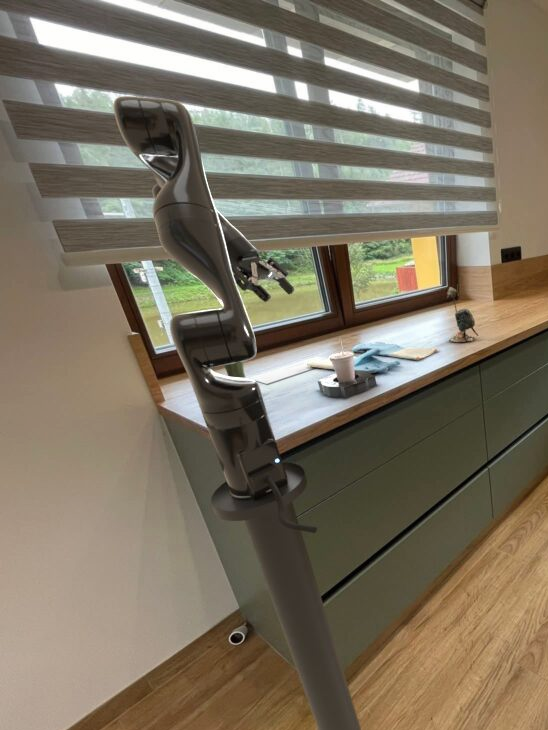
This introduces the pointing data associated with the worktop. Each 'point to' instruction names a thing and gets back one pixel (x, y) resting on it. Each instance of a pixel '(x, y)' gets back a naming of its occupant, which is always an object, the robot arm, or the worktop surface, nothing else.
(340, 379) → the smoothie
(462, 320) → the ostrich figurine
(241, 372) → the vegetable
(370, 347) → the rubber gloves
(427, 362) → the worktop surface
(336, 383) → the board
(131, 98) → the robot arm
